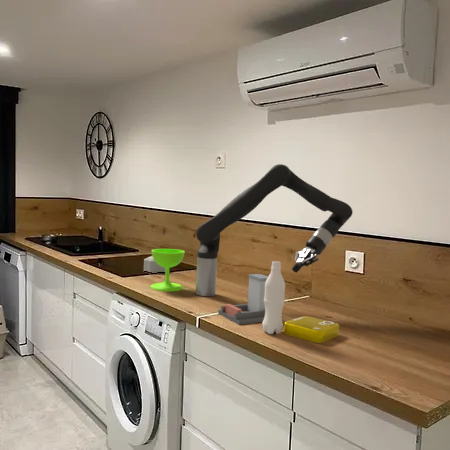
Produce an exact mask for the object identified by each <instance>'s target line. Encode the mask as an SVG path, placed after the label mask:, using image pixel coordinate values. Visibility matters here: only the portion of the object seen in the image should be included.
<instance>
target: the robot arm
mask: <svg viewBox="0 0 450 450" xmlns="http://www.w3.org/2000/svg"><path fill="white" fill-rule="evenodd" d="M280 187H285V188H287V189H289V190H290V191H293V192H295V193H296V194H297V195H299V196H300V197H301V198H303V199H304V200H305V201H307V202H308V203H309V204H311V205H312V206H314V207H315V208H317V209H319V210H320V211H322V212H330V213H331V214H330V215H329V217H328V218H327V219H326V220H325V221H324V222H323V223H322V224H321V225H320V227H319V228H318V229H317V230H316V231H314V233H313V234H312V235H311V236H310V237H309V239H308V240H307V241H306V242H305V247H304V248H302V249H301V250H300V251H299V250H296V251H295V257H294V261H295V264H294V265H293V266H292V268H291V270H292V271H293V273H298V272H299V271H300V270H301V269H302V267H308V266H310V265H312V264H313V263H316V262H317V261H319V257H318V255H319V256H320V255H321V254H322V252H324V250H325V249H326V248H327V247H328V246H329V244H330V243H331V241H332V240H333V238H334V237H335V236H337V234H338V232H339V231H340V230H341V229H342V227H343V226H344V225H345V224H346V223H347V221H348V220H350V218H351V217H352V216H353V208H352V207H351V206H350V205H349V204H348V203H347V202H345V201H342V200H340V199H337V198H335V197H331V196H330V195H329V194H327V193H325V192H324V191H322V190H320V189H318V188H317V187H315V186H313V185H312V184H310V183H308V182H307V181H304V180H303V179H302V178H300V177H299V176H297V175H296V174H295V173H294V171H292V170H291V169H290V168H289V167H288V166H287V165H285V164H282V163H281V164H280V163H279V164H275V165H273V166H272V167H271V168H270V169H269V170H268V171H267V172H266V173H265V174H264V175H263V176H262V177H261V178H260V179H259V180H258V181H257V182H256V183H253V185H252V184H251V186H249V187H248V188H246V189H245V190H243V191H242V192H241V193H239V194H238V195H237V196H236V197H234V198H233V199H232V200H231V201H229V203H228V204H226V205H225V206H224V207H223V208H222V209H221V210H220V211H218V213H216V215H214V216H213V217H211V218H210V219H208V220H206V221H205V222H203V223H202V224H200V225H199V226H198V227H197V229H196V232H195V235H196V238H197V240H198V241H199V242H200V243H199V248H198V250H197V256H196V257H197V258H196V259H197V260H196V274H195V275H196V276H195V292H194V293H195V295H197V296H200V297H214V296H216V290H217V271H218V269H217V268H218V254H219V251H220V241H221V233H222V232H223V231H224V230H226V228H228V227H230V226H232V225H233V224H235V223H237V222H238V221H240V220H241V219H243V218H245V217H246V216H247V215H249V214H251V212H252V211H254V209H256V208H257V207H258V206H259V205H260V204H261V203H262V202H263V201H264V200H265V198H266V197H267V196H268V195H270V194H271V193H273V192H274V191H276V190H277V189H279V188H280Z"/></svg>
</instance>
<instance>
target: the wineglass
mask: <svg viewBox="0 0 450 450" xmlns="http://www.w3.org/2000/svg"><path fill="white" fill-rule="evenodd" d="M185 253H186V251H185V250H182V249H176V248H154V249H151V256H153V259H154V260H155V262H156V263H157V264H159V265H160V266H162V267H166V270H165V273H164V274H165V275H164V276H165V277H164V281H163V282H155V283H153V284H151V285H150V286H149V288H150V287H151V288H152V289H151V288H150V289H151V290H153V289H155V290H154V291H157V290H158V292H178V291H183V289H184V287H183V285H181V284H179V283H176V282H170V268H173V267H177V266H178V265H180V263H181V262H182V261H183V259H184V257H185Z"/></svg>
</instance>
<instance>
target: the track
mask: <svg viewBox="0 0 450 450" xmlns="http://www.w3.org/2000/svg"><path fill="white" fill-rule="evenodd" d="M247 308H248V303H244V304H243V303H242V304H231V303H226V304H224V305H222V306H221V307H220V309H218V310H217V314H218V315H220V316H221V317H223V318H225V319H227V320H230V321H231V322H233V323H234V324H237V325H239V326H240V325H248V324H257V323H258V322H259V323H263V320H264V317H265V310H260V311H249V310H247Z"/></svg>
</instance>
